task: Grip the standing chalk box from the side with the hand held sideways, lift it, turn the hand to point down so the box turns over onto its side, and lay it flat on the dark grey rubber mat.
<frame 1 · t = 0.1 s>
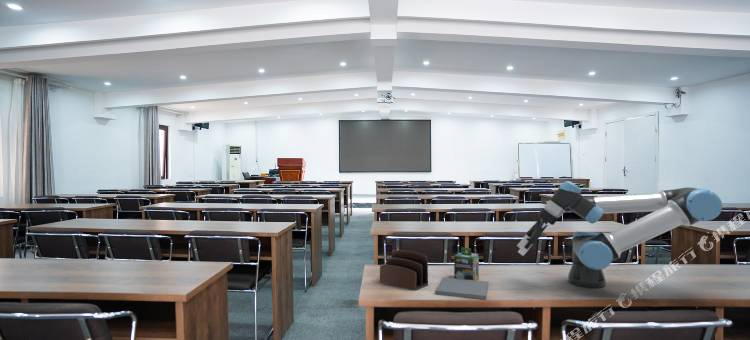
hand: (519, 250, 177), 15 cm above the table, tool tilted 35°, fingers open, 13 cm apart
chalk box: (466, 279, 186), on the table
mat: (462, 289, 171), on the table
letter holder: (403, 284, 179), on the table
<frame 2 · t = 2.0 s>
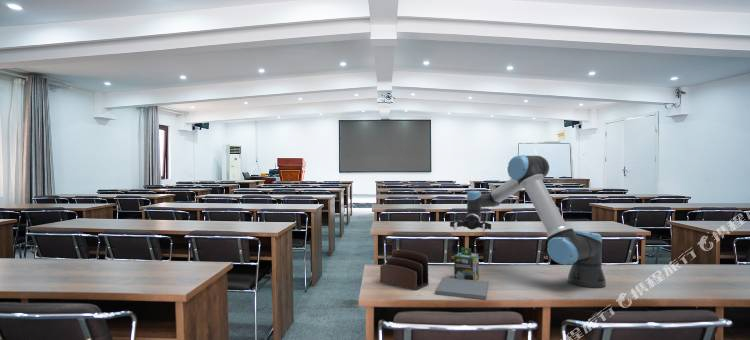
hand: (468, 227, 195), 22 cm above the table, tool horizontal, fingers open, 13 cm apart
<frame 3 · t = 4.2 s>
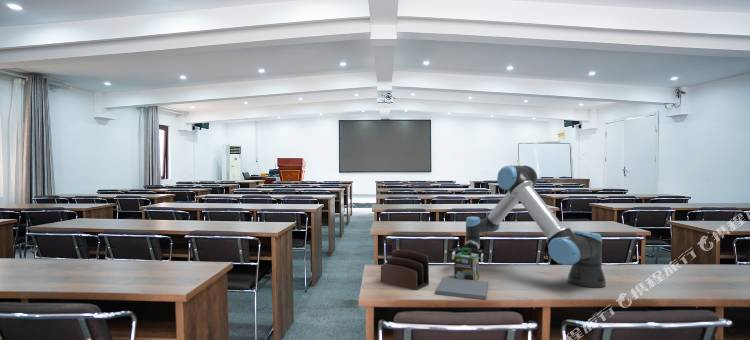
hand: (467, 257, 192), 8 cm above the table, tool horizontal, fingers open, 13 cm apart
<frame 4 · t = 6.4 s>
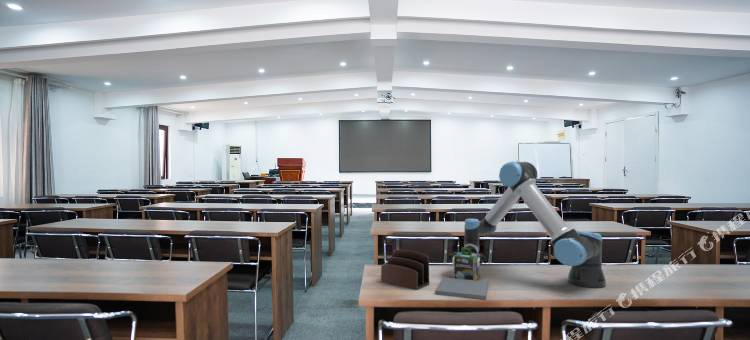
hand: (465, 262, 182), 9 cm above the table, tool horizontal, fingers closed on chalk box, 10 cm apart
chalk box: (466, 279, 186), on the table, touching gripper
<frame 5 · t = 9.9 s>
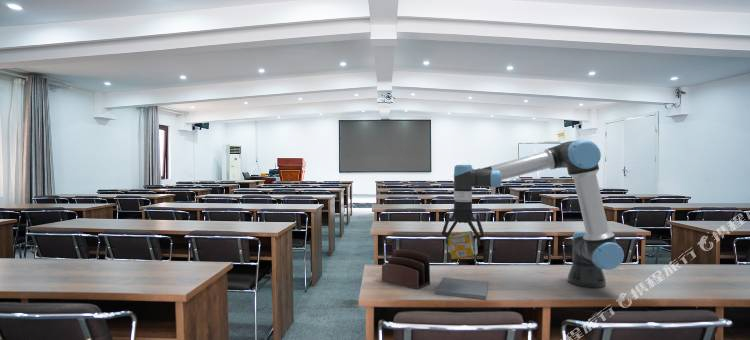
hand: (462, 252, 171), 16 cm above the table, tool pointing down, fingers closed on chalk box, 10 cm apart
chalk box: (460, 247, 163), point 20 cm above the table, touching gripper
when the fingers open (4 cm above the table, at t = 12.6 s): chalk box drops 2 cm, resting on mat.
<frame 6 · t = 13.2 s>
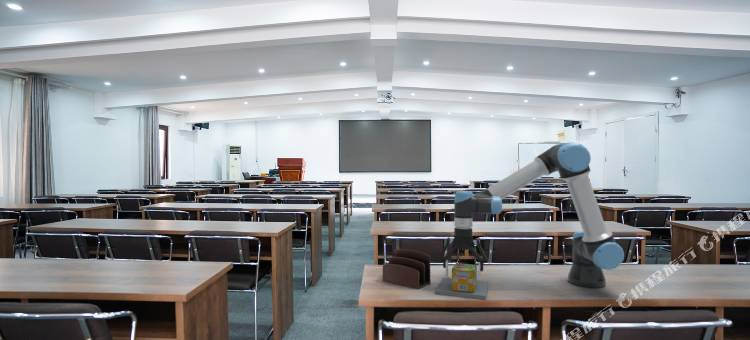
hand: (462, 277, 171), 5 cm above the table, tool pointing down, fingers open, 13 cm apart
chalk box: (463, 281, 162), point 6 cm above the table, touching mat
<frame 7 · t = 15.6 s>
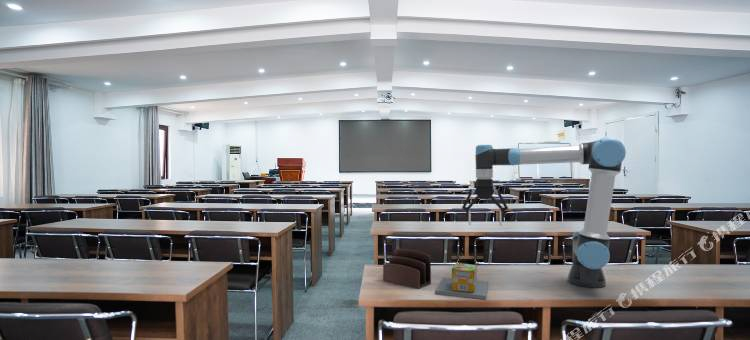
hand: (485, 225, 184), 26 cm above the table, tool pointing down, fingers open, 13 cm apart
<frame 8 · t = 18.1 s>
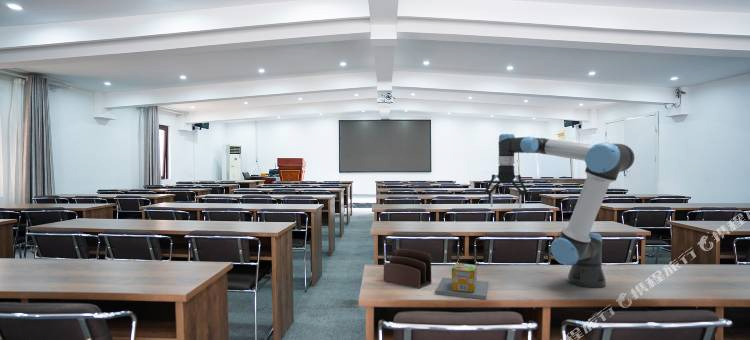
hand: (505, 207, 201), 32 cm above the table, tool pointing down, fingers open, 13 cm apart
at the end: chalk box tilted 90°; chalk box touching mat; the gripper is holding nothing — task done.
